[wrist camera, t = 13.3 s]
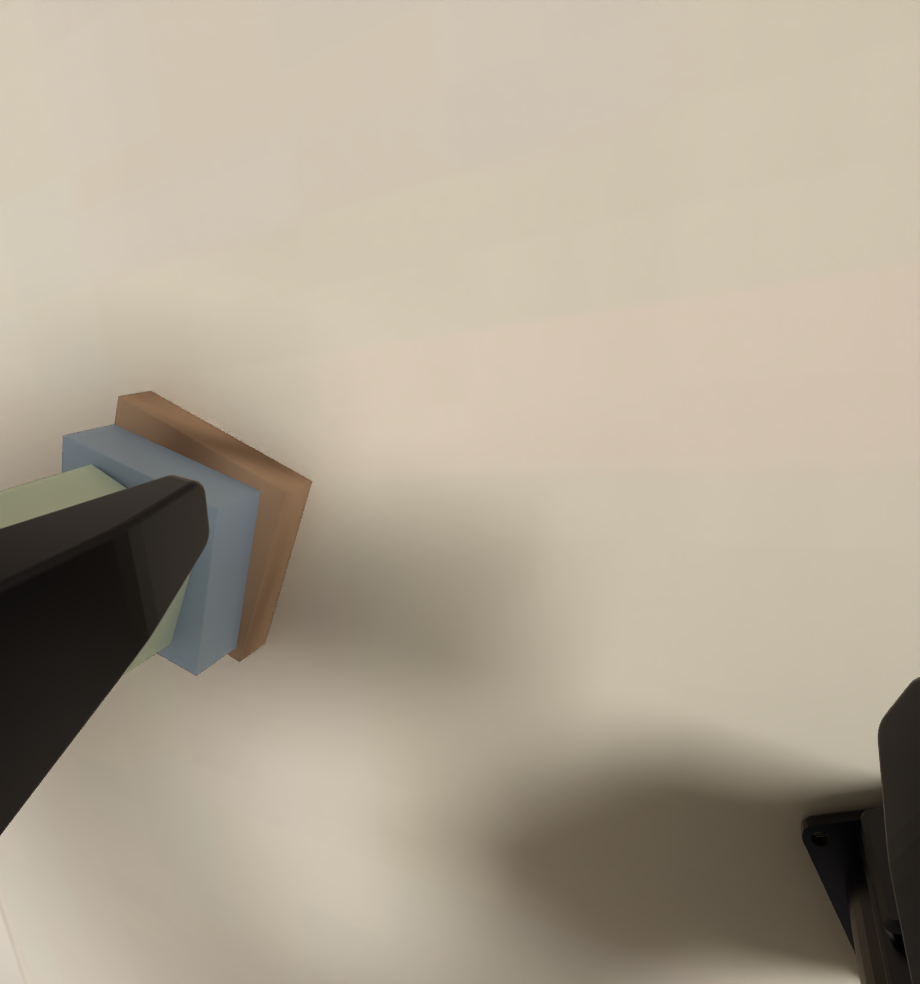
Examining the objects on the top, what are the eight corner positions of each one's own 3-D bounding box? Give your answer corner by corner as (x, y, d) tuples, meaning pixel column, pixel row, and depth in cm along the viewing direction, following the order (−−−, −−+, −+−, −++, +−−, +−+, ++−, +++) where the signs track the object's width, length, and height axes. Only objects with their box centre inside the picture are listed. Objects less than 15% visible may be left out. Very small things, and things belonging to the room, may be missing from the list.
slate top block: (260, 490, 24) (217, 509, 22) (236, 647, 26) (196, 675, 24) (115, 424, 26) (63, 435, 24) (106, 576, 28) (58, 597, 26)
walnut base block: (321, 477, 25) (285, 492, 23) (274, 636, 28) (239, 662, 27) (163, 388, 27) (118, 396, 25) (136, 547, 30) (94, 565, 28)
